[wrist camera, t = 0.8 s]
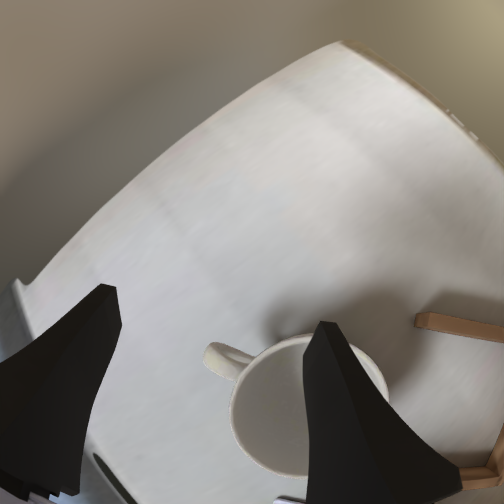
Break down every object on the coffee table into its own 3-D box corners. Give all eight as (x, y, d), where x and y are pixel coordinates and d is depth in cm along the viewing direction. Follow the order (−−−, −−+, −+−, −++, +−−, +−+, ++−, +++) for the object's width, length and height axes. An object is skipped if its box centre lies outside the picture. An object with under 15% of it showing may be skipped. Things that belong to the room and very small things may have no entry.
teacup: (392, 377, 23) (421, 396, 15) (313, 462, 22) (311, 505, 15) (275, 285, 27) (261, 270, 20) (201, 373, 26) (162, 388, 19)
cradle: (488, 474, 17) (501, 485, 14) (363, 473, 21) (368, 490, 18) (533, 336, 20) (551, 336, 16) (416, 313, 24) (430, 311, 21)
